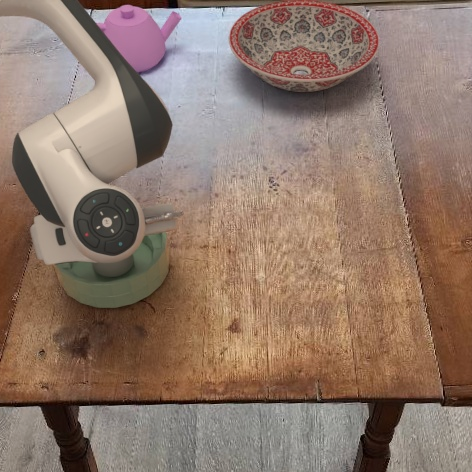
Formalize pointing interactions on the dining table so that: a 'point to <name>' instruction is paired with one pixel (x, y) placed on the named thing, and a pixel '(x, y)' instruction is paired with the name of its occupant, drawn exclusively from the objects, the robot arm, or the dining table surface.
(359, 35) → the ceramic bowl
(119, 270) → the beverage can
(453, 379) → the dining table surface
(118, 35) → the teapot
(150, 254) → the green bowl
